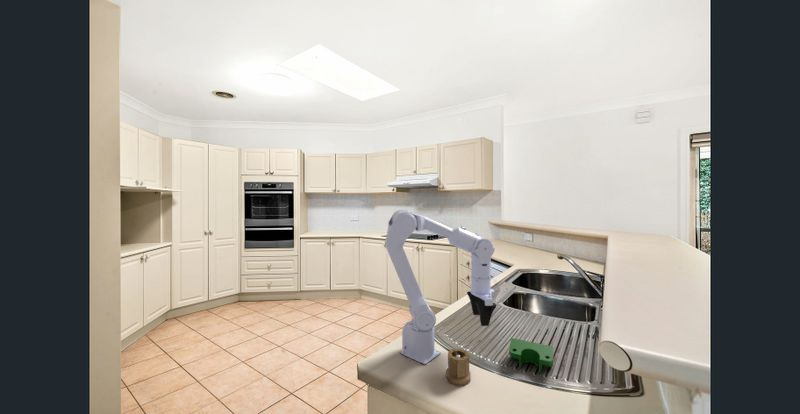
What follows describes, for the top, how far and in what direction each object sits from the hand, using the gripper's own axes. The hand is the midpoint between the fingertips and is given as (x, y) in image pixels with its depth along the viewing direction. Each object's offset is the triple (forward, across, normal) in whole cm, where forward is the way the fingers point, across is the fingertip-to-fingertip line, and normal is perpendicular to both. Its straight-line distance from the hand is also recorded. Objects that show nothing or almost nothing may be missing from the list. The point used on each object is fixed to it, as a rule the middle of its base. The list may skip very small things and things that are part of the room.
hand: (480, 319), depth 94 cm
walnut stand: (+9, -13, +11) cm, 20 cm away
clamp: (+10, -10, -11) cm, 18 cm away
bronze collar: (+8, -13, +10) cm, 19 cm away
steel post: (+8, -13, +11) cm, 19 cm away
